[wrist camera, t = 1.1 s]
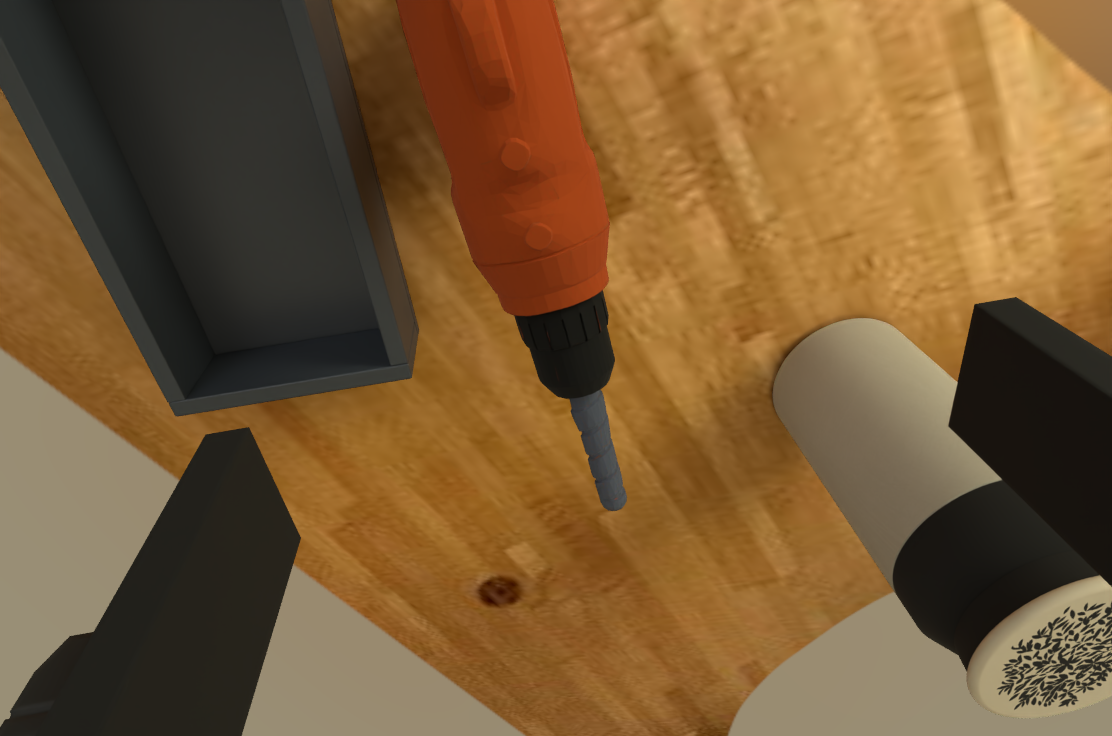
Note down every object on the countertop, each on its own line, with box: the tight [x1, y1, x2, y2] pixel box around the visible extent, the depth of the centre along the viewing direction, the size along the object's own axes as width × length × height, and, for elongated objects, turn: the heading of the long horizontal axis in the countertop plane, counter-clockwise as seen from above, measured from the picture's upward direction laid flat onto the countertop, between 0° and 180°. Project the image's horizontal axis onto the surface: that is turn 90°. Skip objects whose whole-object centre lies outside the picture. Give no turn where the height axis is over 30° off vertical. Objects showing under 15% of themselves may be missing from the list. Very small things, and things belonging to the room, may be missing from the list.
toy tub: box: [0, 0, 419, 416], centre depth 25 cm, size 25×11×5 cm, turn 7°
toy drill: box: [396, 0, 627, 511], centre depth 24 cm, size 5×19×15 cm, turn 14°
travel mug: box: [773, 318, 1112, 718], centre depth 31 cm, size 8×8×18 cm
